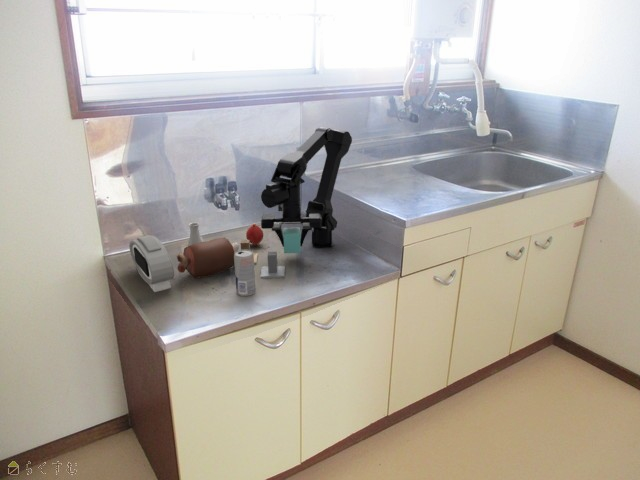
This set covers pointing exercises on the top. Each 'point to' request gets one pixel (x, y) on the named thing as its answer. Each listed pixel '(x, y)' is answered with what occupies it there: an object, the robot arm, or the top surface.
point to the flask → (194, 234)
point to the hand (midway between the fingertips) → (292, 246)
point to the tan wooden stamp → (248, 248)
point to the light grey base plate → (272, 267)
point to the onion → (254, 234)
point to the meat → (207, 257)
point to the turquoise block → (292, 240)
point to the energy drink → (244, 272)
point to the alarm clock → (152, 262)
